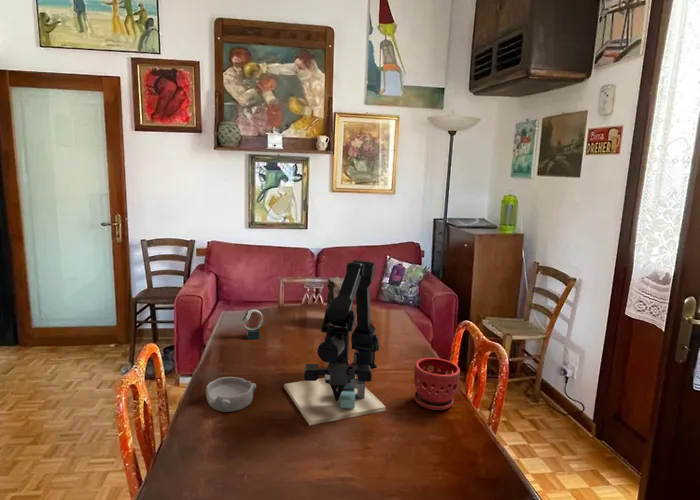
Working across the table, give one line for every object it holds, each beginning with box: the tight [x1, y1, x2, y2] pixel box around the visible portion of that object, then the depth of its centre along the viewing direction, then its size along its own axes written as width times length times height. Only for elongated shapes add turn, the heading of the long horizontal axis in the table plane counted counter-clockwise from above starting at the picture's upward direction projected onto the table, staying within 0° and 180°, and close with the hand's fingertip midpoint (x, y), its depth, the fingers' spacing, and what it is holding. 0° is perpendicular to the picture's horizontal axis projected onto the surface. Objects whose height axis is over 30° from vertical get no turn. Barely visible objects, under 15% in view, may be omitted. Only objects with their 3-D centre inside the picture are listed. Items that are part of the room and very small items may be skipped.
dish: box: [205, 376, 257, 413], centre depth 147 cm, size 14×14×5 cm
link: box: [340, 389, 355, 408], centre depth 152 cm, size 21×5×2 cm, turn 1°
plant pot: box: [413, 357, 461, 411], centre depth 149 cm, size 13×13×12 cm
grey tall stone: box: [326, 275, 357, 327], centre depth 217 cm, size 13×13×20 cm
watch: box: [241, 309, 264, 341], centre depth 198 cm, size 6×8×11 cm
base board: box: [283, 376, 387, 426], centre depth 150 cm, size 23×24×1 cm
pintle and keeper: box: [336, 377, 366, 399], centre depth 154 cm, size 14×9×5 cm, turn 4°
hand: (336, 400), depth 144 cm, fingers closed
